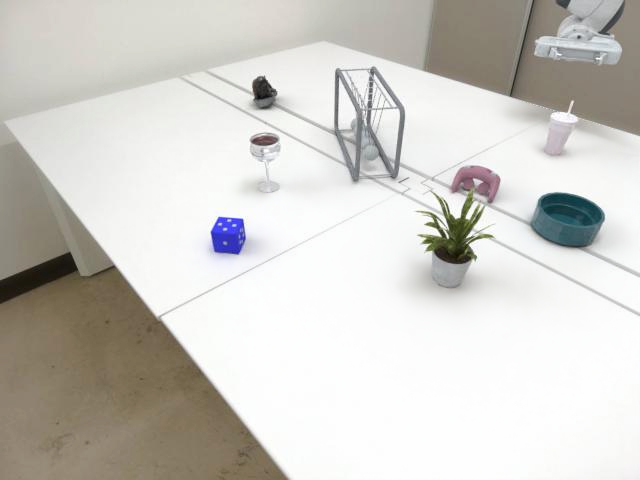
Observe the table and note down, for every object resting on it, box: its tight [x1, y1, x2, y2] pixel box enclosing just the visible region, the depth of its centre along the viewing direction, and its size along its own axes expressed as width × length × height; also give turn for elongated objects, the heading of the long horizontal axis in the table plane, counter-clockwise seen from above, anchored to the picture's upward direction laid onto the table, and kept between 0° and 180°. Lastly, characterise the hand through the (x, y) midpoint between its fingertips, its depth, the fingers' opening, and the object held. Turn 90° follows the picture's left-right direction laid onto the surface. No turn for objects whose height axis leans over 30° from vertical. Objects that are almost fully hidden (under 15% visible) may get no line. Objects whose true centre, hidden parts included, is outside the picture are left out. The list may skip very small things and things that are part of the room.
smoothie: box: [544, 99, 579, 156], centre depth 114 cm, size 6×6×14 cm
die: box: [210, 216, 247, 255], centre depth 88 cm, size 5×5×5 cm
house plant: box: [414, 186, 497, 289], centre depth 78 cm, size 14×14×16 cm
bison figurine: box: [251, 75, 278, 108], centre depth 141 cm, size 12×7×10 cm, turn 178°
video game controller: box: [450, 164, 502, 203], centre depth 102 cm, size 10×5×7 cm, turn 59°
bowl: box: [530, 191, 606, 247], centre depth 92 cm, size 12×12×5 cm
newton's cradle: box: [333, 65, 406, 181], centre depth 113 cm, size 30×10×18 cm, turn 8°
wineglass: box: [248, 131, 282, 193], centre depth 102 cm, size 7×7×12 cm
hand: (577, 59), depth 114 cm, fingers open, 8 cm apart
